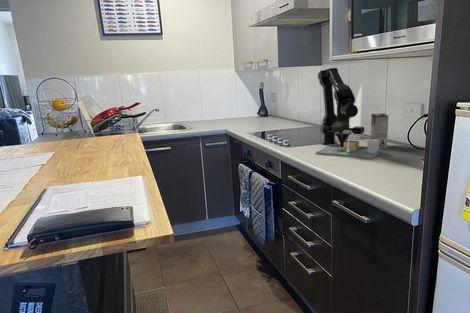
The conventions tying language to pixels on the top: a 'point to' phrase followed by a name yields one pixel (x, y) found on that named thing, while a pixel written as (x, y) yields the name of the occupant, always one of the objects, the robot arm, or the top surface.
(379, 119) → the coffee box
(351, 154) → the gauge base
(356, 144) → the carriage
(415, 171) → the top surface
